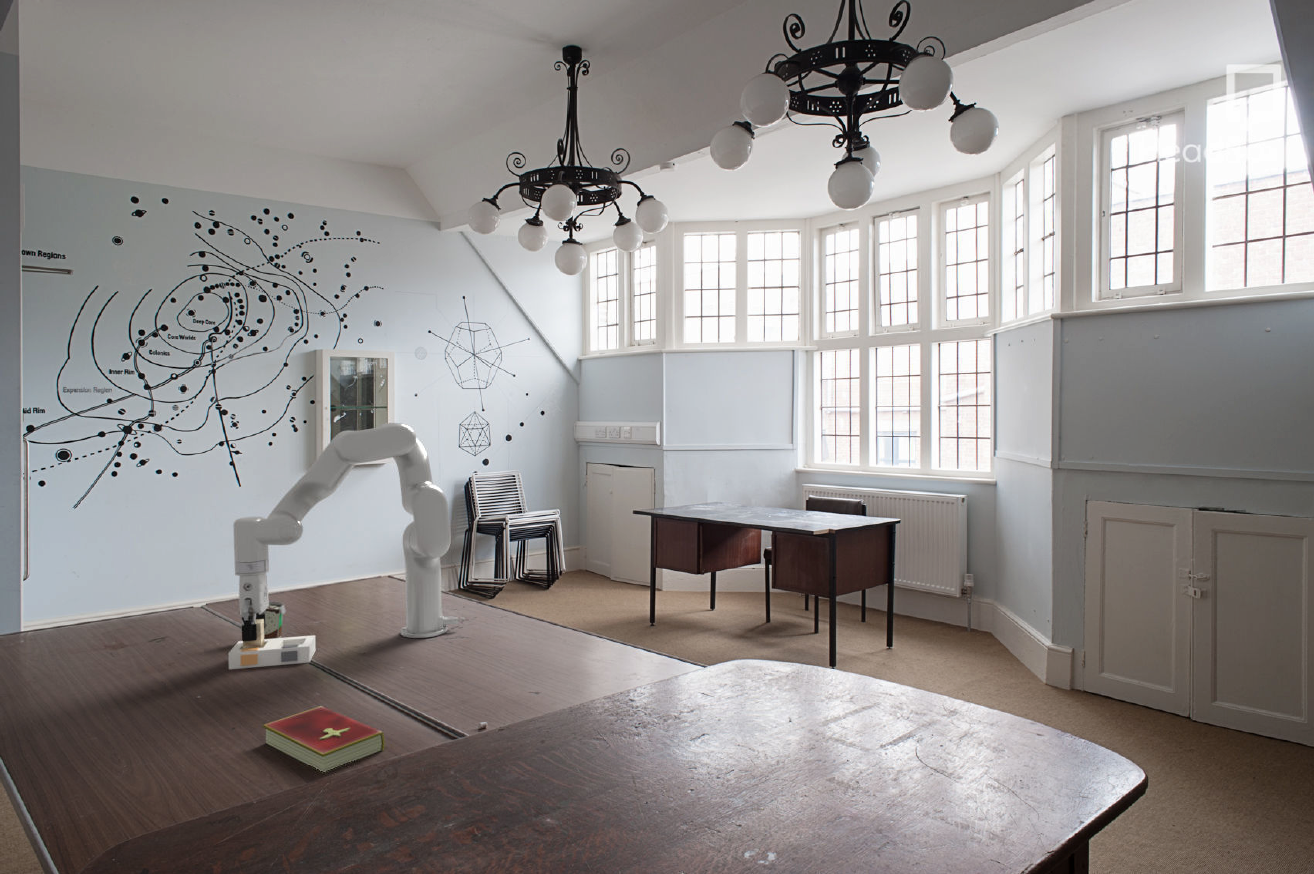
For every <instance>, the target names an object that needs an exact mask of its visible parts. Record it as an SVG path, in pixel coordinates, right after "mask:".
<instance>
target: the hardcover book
mask: <svg viewBox="0 0 1314 874" xmlns="http://www.w3.org/2000/svg"><path fill="white" fill-rule="evenodd" d="M262 728H264V729H265V743H266V744H267V745H269V746H271V747H273V748H275V749H277V750H279V751H281V752H282V753H284V754H286V755H288V756H290V757H292V758H294V759H296V760H298V761H300V762H301V763H304V764H306V765H308V766H309V765H311V766H313V767H315V768H316V770H317V769H319V770H320V771H319V770H318V771H319V772H321V771H323V772H325V773H327V772H328V771H327V770H330V769H333V768H335V767H337V766H339V765H343V764H344V763H347V762H350V763H352V762H351V761H353V762H354V760H355V761H358V760H360V759H362V758H365V757H368V756H370V755H373V754H375V753H379V752H380V751H381V752H383V751H385V744H386V741H385V736H384V735H385V734H384V732H383V731H381V730H379V729H376V728H374V727H372V726H370V725H366V724H364V723H362V722H360V721H358V720H355V719H354V718H351V717H348V716H345V715H344V714H341V713H339V712H336V711H333V710H332V709H330V708H328V707H324V706H322V705H320V706H317V707H313V708H311V709H307V710H305V711H301V712H299V713H296V714H292V715H289V716H287V717H286V716H285V717H283V718H280V719H278V720H273V721H272V722H271V721H270V722H268V723H264V724H262ZM357 759H358V760H357ZM311 766H310V767H311ZM343 766H344V765H343ZM313 767H312V768H313ZM315 768H314V769H315ZM335 769H336V768H335ZM333 770H334V769H333ZM326 771H327V772H326ZM330 771H331V770H330ZM323 772H322V773H323Z"/></svg>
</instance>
